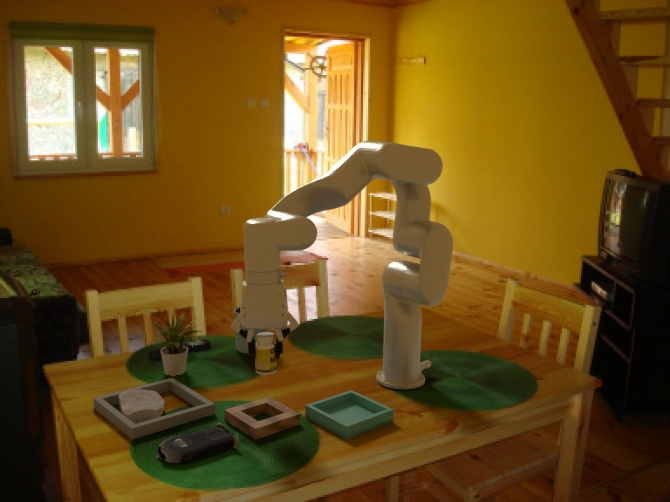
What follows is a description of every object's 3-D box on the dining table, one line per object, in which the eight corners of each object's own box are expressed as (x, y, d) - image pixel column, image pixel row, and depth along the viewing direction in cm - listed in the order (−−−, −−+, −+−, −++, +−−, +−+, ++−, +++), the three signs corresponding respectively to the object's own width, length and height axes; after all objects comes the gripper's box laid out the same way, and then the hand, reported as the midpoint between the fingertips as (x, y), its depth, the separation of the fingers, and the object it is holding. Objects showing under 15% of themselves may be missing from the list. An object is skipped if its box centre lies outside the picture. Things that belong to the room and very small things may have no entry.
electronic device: (215, 439, 150) (149, 449, 141) (220, 416, 149) (154, 424, 140) (236, 462, 143) (168, 474, 134) (241, 438, 142) (173, 448, 133)
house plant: (159, 389, 172) (157, 325, 169) (134, 372, 182) (131, 312, 179) (209, 375, 181) (208, 315, 178) (183, 360, 192) (181, 303, 188)
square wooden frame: (268, 406, 163) (268, 396, 163) (300, 424, 154) (300, 413, 154) (224, 420, 156) (224, 409, 155) (255, 439, 147) (255, 428, 146)
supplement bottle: (273, 376, 151) (272, 339, 149) (252, 374, 152) (251, 337, 150) (279, 367, 155) (278, 331, 153) (259, 366, 156) (258, 330, 154)
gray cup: (239, 343, 207) (239, 304, 205) (272, 345, 206) (272, 306, 203) (229, 354, 197) (229, 313, 195) (264, 357, 196) (264, 316, 194)
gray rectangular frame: (172, 387, 173) (172, 377, 173) (215, 414, 159) (214, 404, 158) (93, 408, 160) (93, 397, 160) (132, 439, 146) (131, 428, 145)
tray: (351, 401, 167) (351, 390, 166) (393, 421, 157) (393, 409, 156) (305, 417, 158) (305, 405, 157) (346, 440, 148) (346, 426, 147)
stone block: (157, 407, 166) (114, 406, 162) (161, 388, 165) (118, 386, 161) (166, 430, 156) (120, 429, 151) (170, 410, 155) (124, 408, 151)
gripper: (302, 271, 153) (304, 349, 157) (224, 273, 152) (228, 352, 156) (303, 280, 145) (304, 362, 149) (221, 282, 145) (225, 364, 149)
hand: (265, 356), depth 153 cm, fingers closed on supplement bottle, 4 cm apart
